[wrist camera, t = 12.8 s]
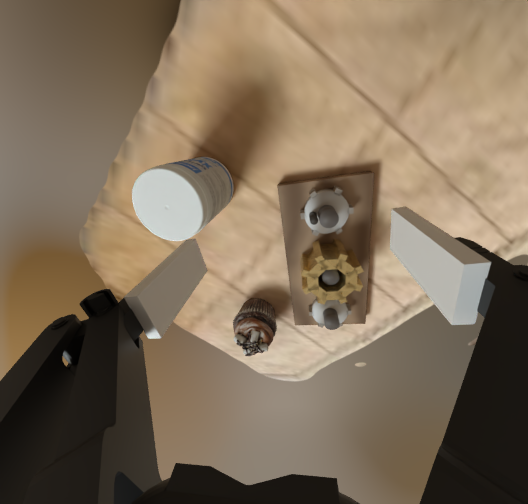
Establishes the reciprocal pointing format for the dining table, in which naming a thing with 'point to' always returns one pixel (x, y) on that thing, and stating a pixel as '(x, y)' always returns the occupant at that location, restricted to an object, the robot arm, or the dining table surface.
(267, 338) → the cupcake
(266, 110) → the dining table surface
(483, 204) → the dining table surface
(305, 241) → the gear board
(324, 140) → the dining table surface
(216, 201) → the supplement tub
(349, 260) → the brass gear
